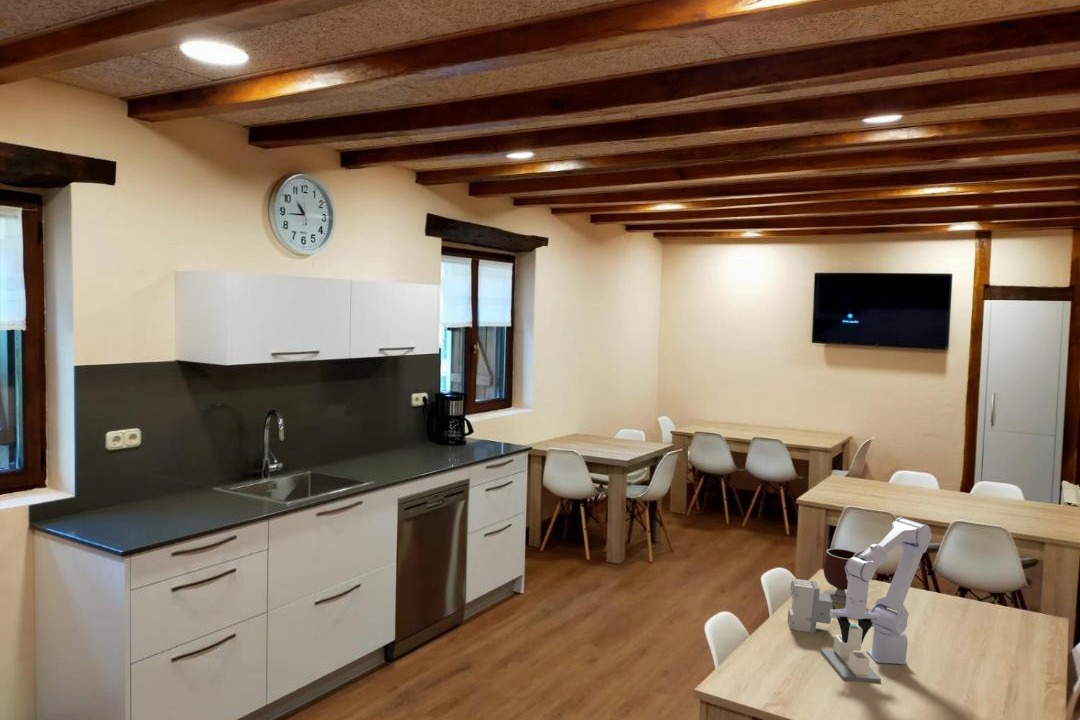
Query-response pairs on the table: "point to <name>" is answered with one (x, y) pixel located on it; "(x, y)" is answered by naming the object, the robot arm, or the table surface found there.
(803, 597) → the circuit breaker
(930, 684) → the table surface
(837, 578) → the mate gourd
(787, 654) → the table surface
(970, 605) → the table surface
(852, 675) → the board
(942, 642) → the table surface
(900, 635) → the robot arm
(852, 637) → the block
